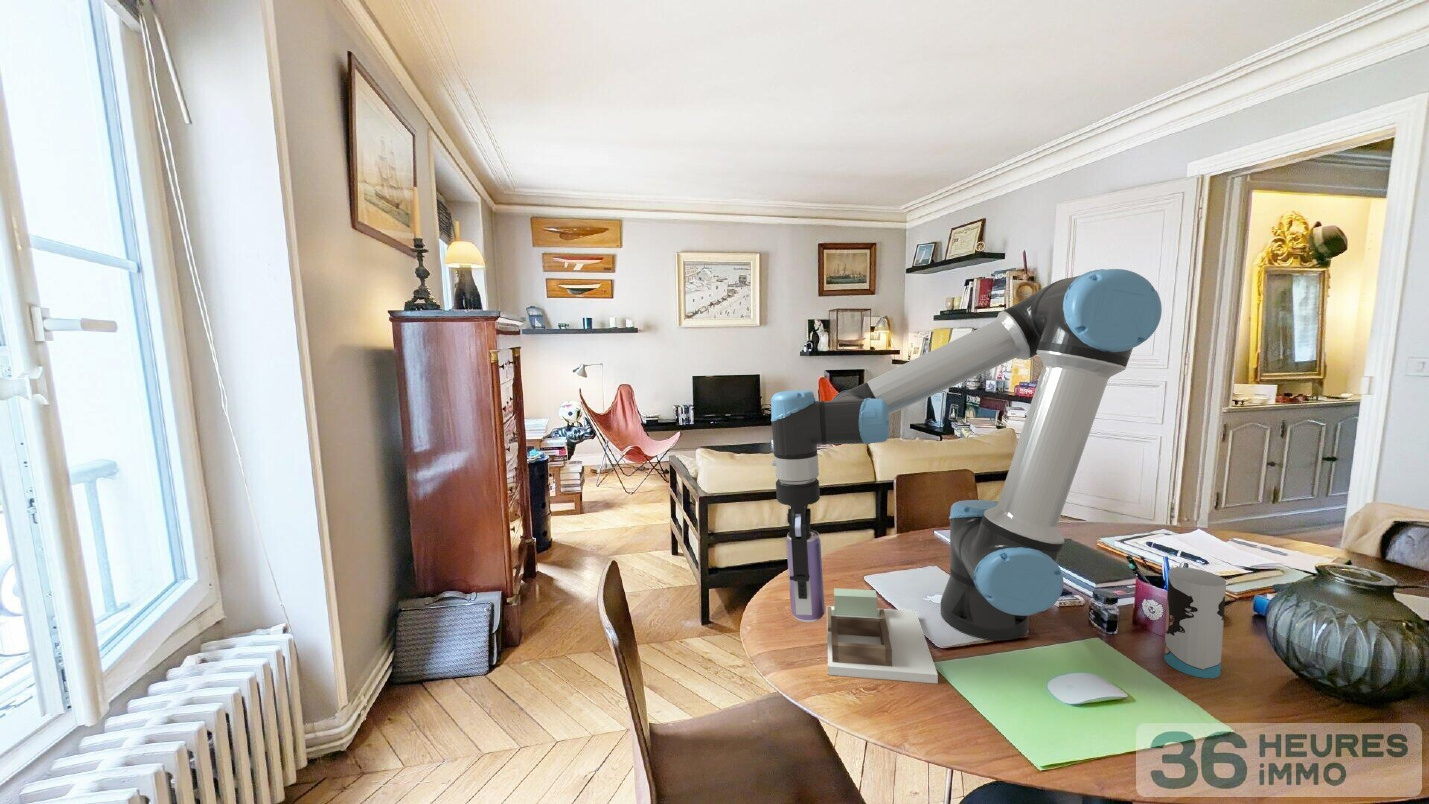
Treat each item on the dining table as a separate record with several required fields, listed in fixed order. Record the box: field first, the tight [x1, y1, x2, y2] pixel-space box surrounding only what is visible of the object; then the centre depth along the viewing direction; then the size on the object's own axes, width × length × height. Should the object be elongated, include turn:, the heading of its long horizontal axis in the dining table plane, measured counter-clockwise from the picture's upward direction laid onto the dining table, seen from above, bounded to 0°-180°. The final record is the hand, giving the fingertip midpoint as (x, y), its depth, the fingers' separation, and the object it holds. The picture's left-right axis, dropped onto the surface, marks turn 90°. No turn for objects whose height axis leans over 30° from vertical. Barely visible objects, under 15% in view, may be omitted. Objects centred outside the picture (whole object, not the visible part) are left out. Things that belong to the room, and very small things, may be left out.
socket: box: [831, 616, 892, 667], centre depth 91 cm, size 10×10×3 cm
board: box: [826, 605, 939, 684], centre depth 94 cm, size 17×20×2 cm
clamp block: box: [833, 587, 878, 617], centre depth 102 cm, size 8×3×4 cm, turn 78°
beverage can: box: [786, 529, 826, 623], centre depth 93 cm, size 6×6×15 cm
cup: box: [1163, 566, 1227, 679], centre depth 83 cm, size 7×7×15 cm
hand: (804, 604), depth 94 cm, fingers closed on beverage can, 6 cm apart
